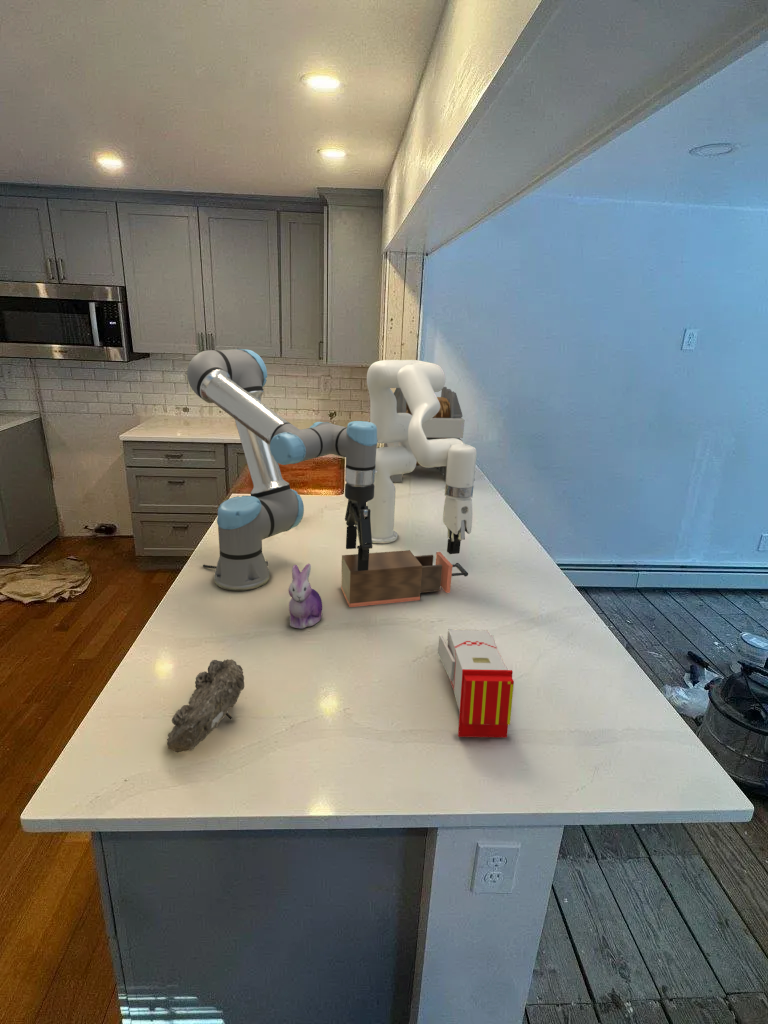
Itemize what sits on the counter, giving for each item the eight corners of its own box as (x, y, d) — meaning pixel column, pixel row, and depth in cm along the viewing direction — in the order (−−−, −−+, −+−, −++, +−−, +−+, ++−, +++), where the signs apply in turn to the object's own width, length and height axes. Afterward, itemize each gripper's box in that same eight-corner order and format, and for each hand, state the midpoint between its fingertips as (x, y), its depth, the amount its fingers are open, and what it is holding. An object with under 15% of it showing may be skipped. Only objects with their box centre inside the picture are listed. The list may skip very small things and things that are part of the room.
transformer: (382, 463, 289) (386, 382, 275) (445, 464, 293) (451, 384, 279) (390, 482, 257) (394, 392, 243) (460, 483, 261) (468, 394, 247)
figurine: (294, 634, 136) (293, 577, 131) (280, 614, 145) (279, 560, 139) (330, 625, 140) (331, 571, 135) (315, 606, 149) (315, 554, 144)
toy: (488, 613, 130) (523, 677, 101) (484, 667, 133) (517, 744, 104) (435, 612, 130) (455, 676, 101) (432, 666, 133) (451, 743, 103)
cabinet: (407, 582, 165) (409, 549, 161) (419, 600, 155) (422, 565, 152) (341, 588, 159) (341, 555, 156) (349, 607, 150) (350, 571, 146)
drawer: (455, 576, 168) (458, 550, 165) (468, 590, 159) (471, 563, 157) (377, 583, 161) (378, 556, 158) (386, 599, 153) (388, 570, 150)
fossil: (192, 660, 117) (244, 628, 112) (224, 691, 120) (276, 661, 115) (142, 746, 98) (202, 712, 93) (182, 779, 101) (242, 748, 96)
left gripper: (387, 498, 134) (382, 578, 142) (362, 468, 156) (359, 539, 164) (357, 499, 132) (353, 581, 139) (335, 469, 154) (333, 541, 162)
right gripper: (483, 498, 147) (476, 562, 153) (460, 482, 161) (455, 541, 167) (456, 500, 145) (450, 565, 151) (435, 483, 159) (431, 543, 165)
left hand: (356, 558), depth 152 cm, fingers open, 13 cm apart
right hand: (453, 552), depth 159 cm, fingers closed
